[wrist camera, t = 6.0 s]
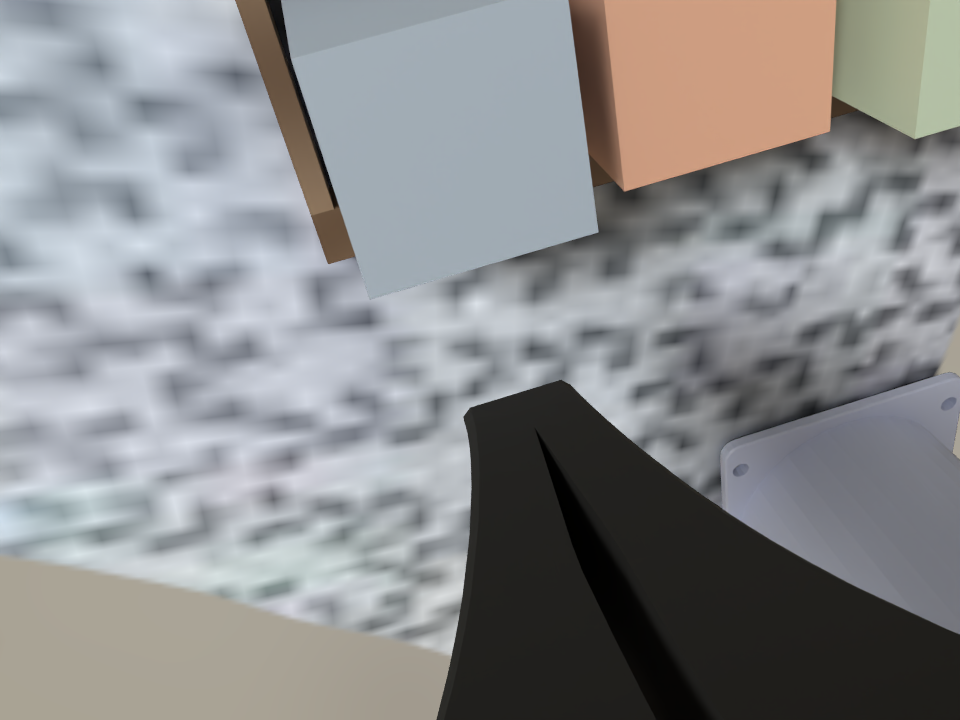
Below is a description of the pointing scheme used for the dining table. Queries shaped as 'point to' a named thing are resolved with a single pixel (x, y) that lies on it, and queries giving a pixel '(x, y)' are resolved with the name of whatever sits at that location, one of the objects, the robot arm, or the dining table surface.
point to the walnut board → (301, 140)
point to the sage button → (900, 62)
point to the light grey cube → (445, 129)
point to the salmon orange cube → (699, 80)
